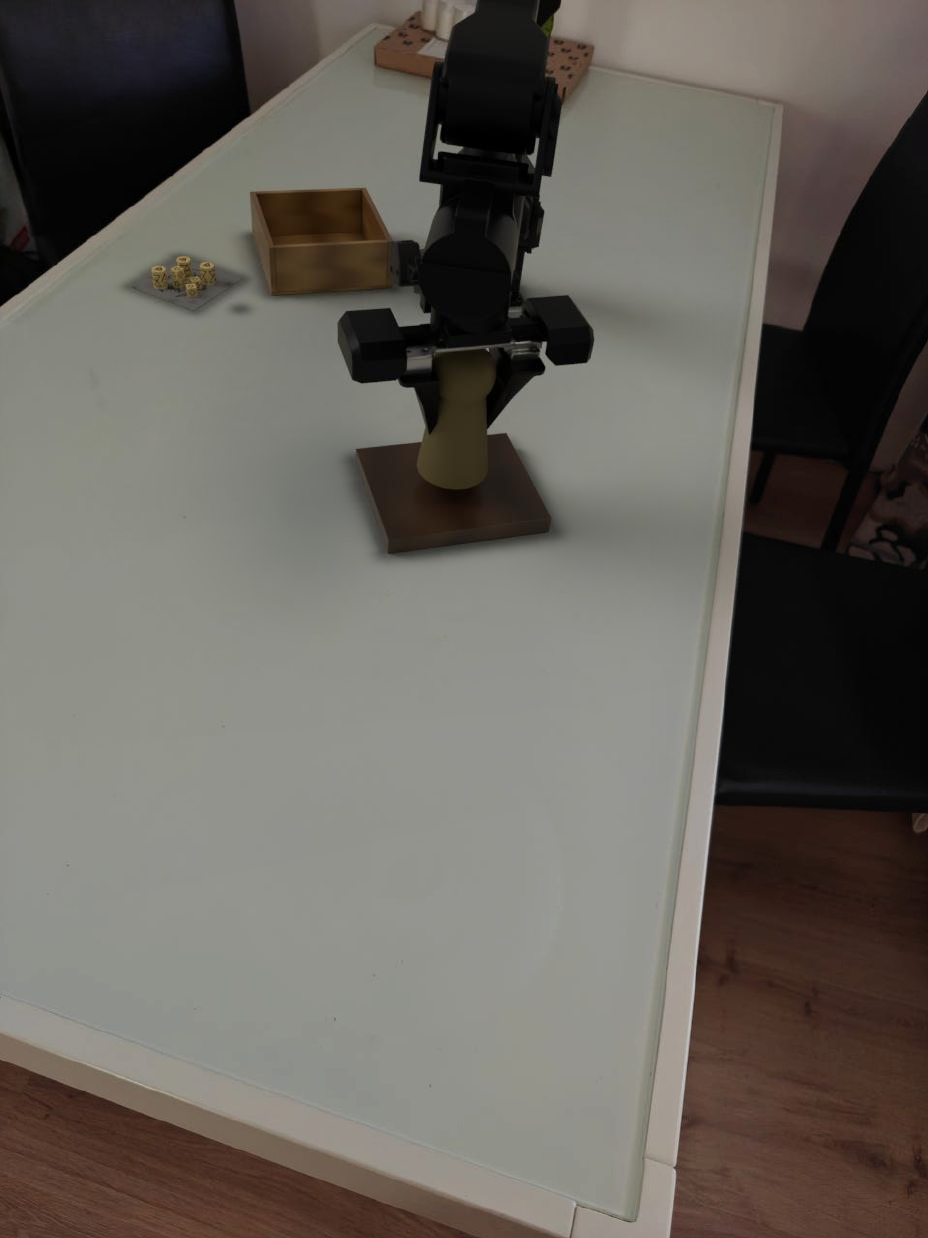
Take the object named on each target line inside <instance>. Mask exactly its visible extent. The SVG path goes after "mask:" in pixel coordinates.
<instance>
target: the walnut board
mask: <svg viewBox="0 0 928 1238" xmlns="http://www.w3.org/2000/svg"><path fill="white" fill-rule="evenodd" d="M421 443H422V441H415V442H408V443H407V442H406V443H398V444H397V443H396V444H389V445H388V444H387V445H379V446H372V447H371V446H370V447H362V448H361V447H360V448H355V464H356V468H357V470H358V473H359V476H360V479H361V482H362V485H363V488H364V490H365V493H366V496H367V499H368V502H369V504H370V507H371V510H372V513H373V515H374V518H375V521H376V524H377V527H378V530H379V533H380V535H381V538H382V541H383V544H384V546H385V549H386V552H387V554H394V553H401V552H409V551H415V550H424V549H430V548H431V549H432V548H439V547H445V546H446V547H447V546H453V545H461V544H469V543H475V542H482V541H490V540H497V539H504V538H511V537H519V536H525V535H526V536H527V535H534V534H535V535H536V534H541V533H542V534H543V533H549V532H550V529H551V523H552V517H551V514H550V513H549V511H548V508H547V507H546V505H545V502H544V501H543V499H542V497H541V496H540V493H539V492H538V490H537V488H536V486H535V484H534V483H533V480H532V478H531V477H530V475H529V472H528V471H527V469H526V467H525V465H524V463H523V462H522V459H521V458H520V456H519V454H518V452H517V450H516V448H515V446H514V444H513V442H512V440H511V438H510V437H509V435H508V433H507V432H501V433H492V434H487V447H488V471H487V475H486V477H485V478H484V480H483V481H482V482H480V483H479V484H477V485H476V486H473V487H470V488H467V489H456V490H455V489H446V488H442V487H439V486H436V485H433V484H431V483H430V482H428V481H427V480H425V479H424V478H423V477H422V476H421V475H420V473H419V471H418V469H417V460H418V455H419V451H420V447H421Z"/></svg>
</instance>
